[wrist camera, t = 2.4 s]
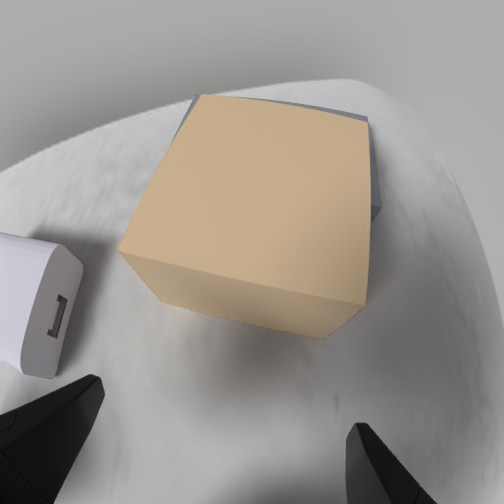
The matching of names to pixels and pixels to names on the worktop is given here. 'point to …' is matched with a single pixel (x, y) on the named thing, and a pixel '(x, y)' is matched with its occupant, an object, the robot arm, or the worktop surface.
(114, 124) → the worktop surface
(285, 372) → the worktop surface
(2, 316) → the charger
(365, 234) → the kraft carton
